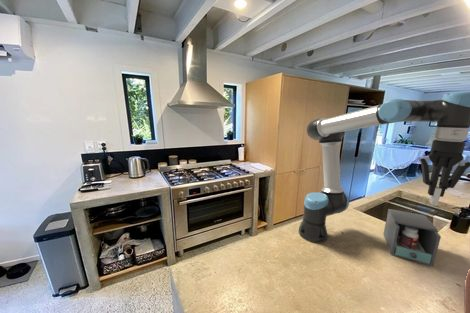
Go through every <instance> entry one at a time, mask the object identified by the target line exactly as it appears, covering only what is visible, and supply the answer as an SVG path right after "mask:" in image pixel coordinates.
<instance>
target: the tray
mask: <svg viewBox="0 0 470 313" xmlns="http://www.w3.org/2000/svg"><path fill="white" fill-rule="evenodd" d="M400 237H401V234H398V237H397V241H396V246H395V251H394V252H395V254H396V255H399V256H403V257H406V258H410V259H414V260H417V261H421V262H425V263H428V264H430V260H431V257H432V255H431V254H428V253H426V252H425V251H424V249H423V247H422V246H421V244H420V243H419V241H418V242H417V246H416V250H412V249H409V248H405V247H401V246H399V241H400Z"/></svg>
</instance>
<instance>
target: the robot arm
mask: <svg viewBox="0 0 470 313" xmlns="http://www.w3.org/2000/svg"><path fill="white" fill-rule="evenodd" d="M401 122H403V123H405V122H418V123H419V122H420V123H421V122H426V123H427V122H430V123H431V122H432V123H436V126H435V130H434V134H433V138H434V140H432V143H431V146H430V151H429V153H428V154H427V155H426V156H424V157H419V158H418V161H419V163H420V164H421V166H420V167H421V176H422V182H423V183H424V184H425V185H426V186H428V189H427V194H428V195H429V200H428V203H429V204H430V205H431V206H436V207H437V206H438V205H439V202H440V198H443V197H444V195H445V192H446V190H448V189H454V188H455V187H456V185H457V184H458V182H459V181H460V179H461V178H462V176H463V175H464V173H465V172H466V170H467V169H468V168H470V162H469V161H467V160H465V158H464V156H463V154H464V152H465V148H466V141H467V139H468V135H469V132H470V91H459V92H449V93H444V94H443V96H442V98H441V99H436V100H433V99H432V100H411V99H409V100H408V99H403V98H395V99H389V100H386V101H384V102H383V103H382V104H378V105H374V106H371V107H367V108H363V109H359V110H356V111H352V112H347V113H344V114H340V115H337V116H333V117H329V118H326V117H321V118H317V119H313V120H310V122H309V123H308V125H307V126H306V133H307V136H309V138H310V139H311V140H315V141H318V143H319V145H320V146H321V147H322V148H321V149H322V150H321V151H322V168H323V169H322V170H323V187H322V188H321V192H319V191H317V192H309V193H307V194H306V195H305V197H304V201H303V204H304V205H303V214H302V216H303V217H302V220H301V223H300V224H299V227H298V234H299V235H300V236H301V237H302V238H303V239H305V240H306V241H309V242H311V243H318V244H319V243H323V242H326V241H327V240H328V234H329V233H328V229H327V226H326V222H327V217H329V216H333V215H335V214H340V213H343V212H344V211H346V210H347V209H348V208H349V205H350V200H349V197H348V196H347V194H346V193H345V190H344V189H343V188H342V186H341V165H340V164H341V160H340V145H341V144H343V138H344V137H345V135H346V133H347V132H348V131H354V130H358V129H365V128H371V127H376V126H381V125H388V124H394V123H401ZM430 161H431V163H432V171H431V174H430V171H429V170H430V169H429V168H430V166H429V164H428V163H429V162H430ZM456 165H457V166H456ZM455 166H456V168H455V169H454V170H453V167H455ZM441 170H442V171H441ZM452 170H453V172H452ZM451 172H452V174H451ZM439 178H440V179H439ZM438 181H439V182H438Z"/></svg>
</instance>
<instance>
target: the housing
mask: <svg viewBox="0 0 470 313" xmlns="http://www.w3.org/2000/svg"><path fill="white" fill-rule="evenodd" d="M406 225H407V226H412V227H415V228H417V229H418V233H417V234H418V235H419V238H418V241H419V243H420V244H421V246H422V247H423V249H424V251H425V252H426V253H428V254H431V255H432V257H431V260H430V264H428V263H425V262H421V261H417V260H414V259H410V258H406V257H403V256H399V255H396V254H395V252H394V251H395V246H396V241H397V237H398V234H401V233H402V230H403V229H405V226H406ZM383 230H384V231H383V238H384V240H385V242H386V246H387V248H388V250H389V253H390V255H391V256H395V257H399V258H402V259H404V260H405V259H406V260H409V261H413V262H416V263H420V264H422V265H423V264H424V265H428V266H431V267H434V264H435V260H436V255H437V253H438V250H439V249H438V248H439V245H440V241H441V239H442V236H441V235H440V234H439V233H438V228H436V226H434V224H433V223H432V222H431V221H430V219H429V218H428V217H427V216H426V215H424V214H419V213H414V212H408V211H403V210H397V209H393V208H392V209H391V208H388V209H387V214H386V219H385V225H384V229H383Z"/></svg>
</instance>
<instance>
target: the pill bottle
mask: <svg viewBox="0 0 470 313" xmlns="http://www.w3.org/2000/svg"><path fill="white" fill-rule="evenodd" d="M417 233H418V229H417V228H415V227H412V226H407V225H406V226H405V229H403V230H402V233H401V237H400V241H399V246H401V247H405V248H409V249H412V250H416V246H417V242H418V238H419V235H418V234H417Z"/></svg>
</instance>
